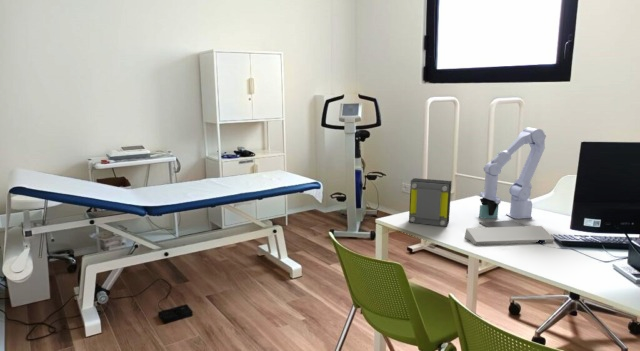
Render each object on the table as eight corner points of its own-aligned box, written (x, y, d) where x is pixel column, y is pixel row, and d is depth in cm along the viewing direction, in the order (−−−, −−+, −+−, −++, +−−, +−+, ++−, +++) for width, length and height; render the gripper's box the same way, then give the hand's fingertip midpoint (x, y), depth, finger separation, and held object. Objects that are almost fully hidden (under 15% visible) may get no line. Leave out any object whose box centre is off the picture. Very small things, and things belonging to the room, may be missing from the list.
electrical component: (407, 223, 215) (409, 181, 212) (412, 217, 225) (414, 177, 221) (446, 227, 209) (449, 185, 205) (449, 221, 218) (451, 180, 214)
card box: (495, 216, 228) (496, 204, 227) (497, 217, 226) (498, 205, 225) (478, 217, 226) (479, 205, 225) (481, 218, 224) (482, 206, 223)
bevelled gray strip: (551, 248, 192) (538, 235, 201) (554, 238, 190) (541, 225, 199) (474, 251, 188) (464, 237, 197) (476, 241, 186) (466, 228, 195)
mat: (512, 220, 220) (512, 220, 220) (532, 229, 207) (532, 228, 207) (479, 223, 216) (479, 222, 216) (496, 232, 203) (497, 231, 203)
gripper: (475, 184, 229) (473, 210, 232) (492, 190, 215) (489, 218, 218) (487, 183, 231) (485, 209, 234) (505, 190, 217) (503, 217, 220)
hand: (488, 214), depth 226 cm, fingers open, 4 cm apart
